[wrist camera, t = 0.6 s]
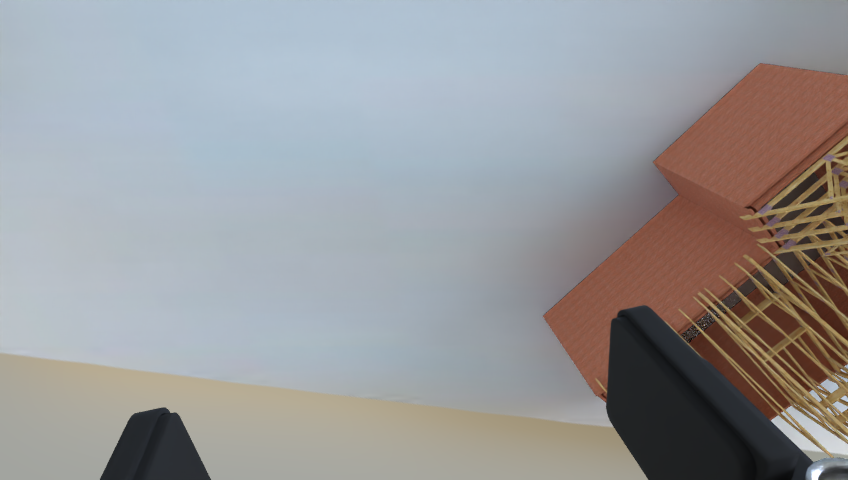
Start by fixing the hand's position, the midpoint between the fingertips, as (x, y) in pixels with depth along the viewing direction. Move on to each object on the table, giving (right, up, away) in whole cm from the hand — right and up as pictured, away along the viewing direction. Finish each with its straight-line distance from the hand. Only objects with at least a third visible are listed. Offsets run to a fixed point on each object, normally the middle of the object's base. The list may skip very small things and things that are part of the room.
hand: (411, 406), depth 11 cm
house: (+26, +2, +37) cm, 46 cm away
